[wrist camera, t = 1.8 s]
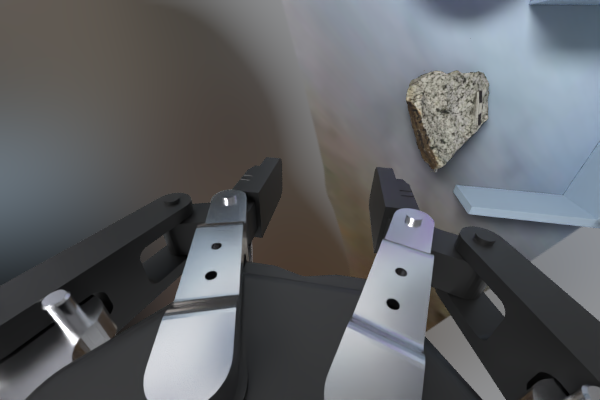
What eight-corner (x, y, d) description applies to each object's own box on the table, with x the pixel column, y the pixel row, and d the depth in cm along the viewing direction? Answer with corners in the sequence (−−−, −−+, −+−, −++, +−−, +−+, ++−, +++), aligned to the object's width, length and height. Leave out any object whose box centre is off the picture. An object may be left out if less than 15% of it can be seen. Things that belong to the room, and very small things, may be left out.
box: (535, -11, 21) (579, -24, 17) (719, -11, 20) (818, -26, 15) (453, 191, 32) (468, 214, 28) (567, 202, 30) (602, 228, 26)
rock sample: (539, 131, 24) (484, 161, 20) (463, 157, 31) (413, 182, 28) (492, 32, 24) (430, 46, 21) (428, 81, 31) (374, 97, 28)
